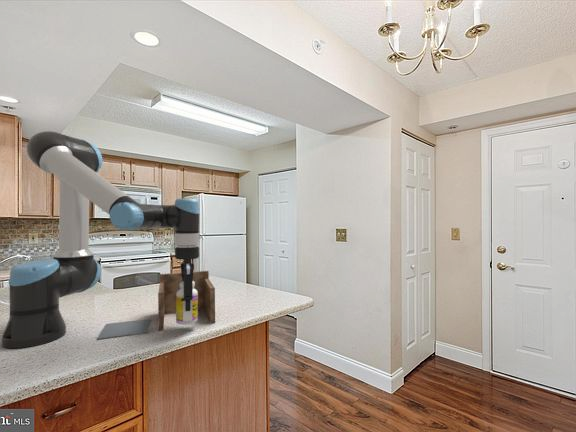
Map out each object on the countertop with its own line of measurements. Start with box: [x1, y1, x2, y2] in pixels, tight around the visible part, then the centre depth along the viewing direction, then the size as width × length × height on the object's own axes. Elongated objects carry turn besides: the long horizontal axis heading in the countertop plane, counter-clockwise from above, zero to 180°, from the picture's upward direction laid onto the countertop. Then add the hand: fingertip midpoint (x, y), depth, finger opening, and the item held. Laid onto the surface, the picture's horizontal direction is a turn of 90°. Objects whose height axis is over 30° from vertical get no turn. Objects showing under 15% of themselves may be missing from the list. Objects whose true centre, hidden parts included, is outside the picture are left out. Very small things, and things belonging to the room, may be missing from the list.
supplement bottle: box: [175, 281, 199, 326], centre depth 100 cm, size 7×7×13 cm
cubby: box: [157, 270, 216, 331], centre depth 111 cm, size 18×20×15 cm
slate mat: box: [96, 318, 152, 341], centre depth 101 cm, size 14×14×1 cm
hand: (187, 317), depth 100 cm, fingers closed on supplement bottle, 7 cm apart
